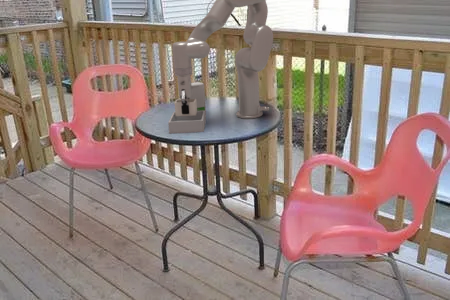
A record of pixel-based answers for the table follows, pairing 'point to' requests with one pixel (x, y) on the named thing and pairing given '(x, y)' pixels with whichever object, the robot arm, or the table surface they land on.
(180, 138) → the table surface
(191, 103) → the small crate
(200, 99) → the skincare box
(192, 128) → the base crate
